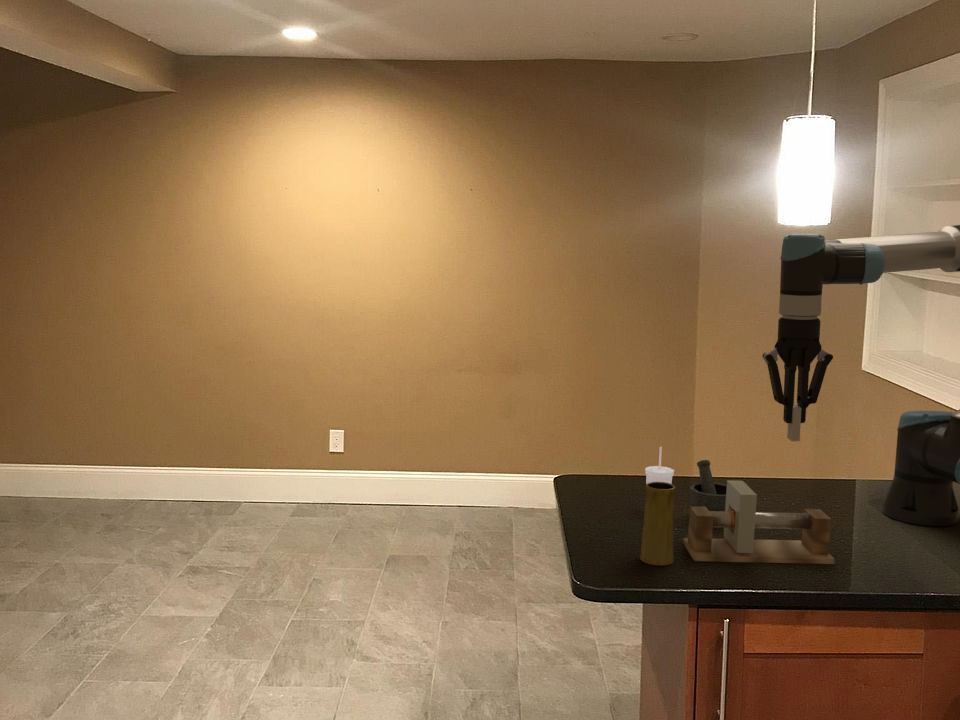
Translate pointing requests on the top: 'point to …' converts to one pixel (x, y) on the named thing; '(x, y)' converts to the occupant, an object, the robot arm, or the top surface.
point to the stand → (759, 542)
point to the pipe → (765, 520)
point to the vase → (658, 524)
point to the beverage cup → (659, 472)
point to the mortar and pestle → (708, 490)
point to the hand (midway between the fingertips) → (793, 439)
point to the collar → (741, 516)
